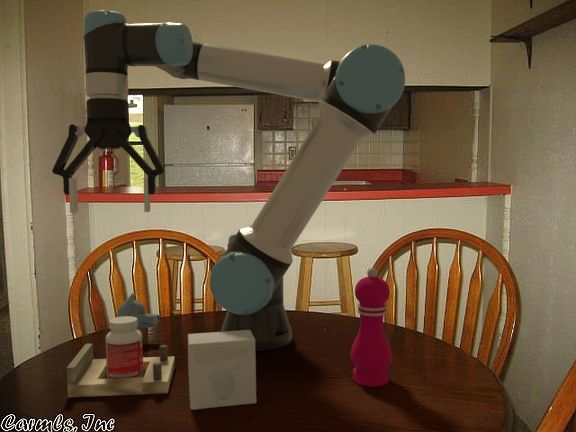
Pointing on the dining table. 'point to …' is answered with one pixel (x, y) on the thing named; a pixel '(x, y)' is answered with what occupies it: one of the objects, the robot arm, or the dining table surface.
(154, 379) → the jig
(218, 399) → the skincare box
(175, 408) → the dining table surface
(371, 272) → the pepper mill
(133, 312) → the wolf head
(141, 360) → the pill bottle
